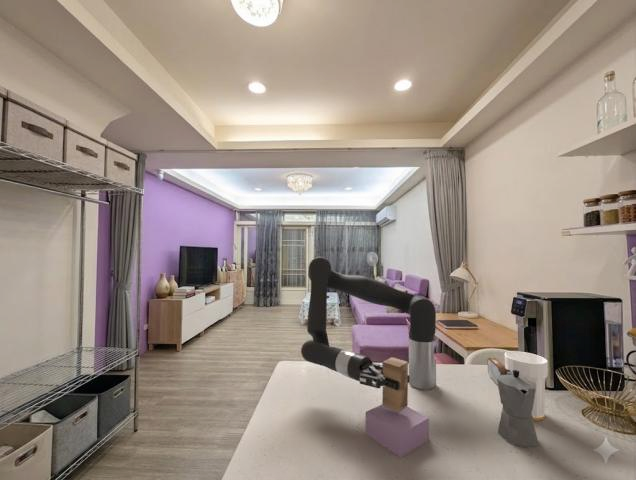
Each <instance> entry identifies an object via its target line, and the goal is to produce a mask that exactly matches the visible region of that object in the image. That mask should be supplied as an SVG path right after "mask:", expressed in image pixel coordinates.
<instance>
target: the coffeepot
mask: <svg viewBox="0 0 636 480" xmlns="http://www.w3.org/2000/svg"><path fill="white" fill-rule="evenodd" d="M497 382H498V385H497V387H498V393H499V397H500V399H499V400H500V404H501V405H502V409H501V413H500V414H501V415H500V418H499V419H500V420H499V426H498V429H497V432H498V434H499V436H500V435H501V436H502V437H503V438H502V437H501V436H500V437H501V438H502V439H504V440H505V439H506V440H507V441H506V440H505V441H506V442H508V441H509V442H508V443H510V442H511V443H510V444H512V443H513V444H512V445H515V446H517V445H518V446H517V447H521V446H522V448H534V447H537V445H538V437H537V436H538V435H537V431H536V428H535V427H536V426H535V420H533V416H532V410H533V404H534V397H535V390H536V384H535V383H534V382H532V381H530V380H528V379H526V378H523V377H519V371H517V370H513V372H511V371H510V370H508V369H506V370H505V372H504V375H499V376H498V378H497Z"/></svg>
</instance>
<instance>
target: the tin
mask: <svg viewBox="0 0 636 480" xmlns="http://www.w3.org/2000/svg"><path fill="white" fill-rule="evenodd" d="M486 363H487V364H486V365H487V372H488V375H489V377H490V379H491V380H492V381H493V383H495V385H496V386H498V382H497V378H498V376H499V375H504V372H505V370H507V369H506V368H505V364H503V363H502V362H501V361H500V360H499V359H498V358H497V357H488V358H487V359H486Z"/></svg>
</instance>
